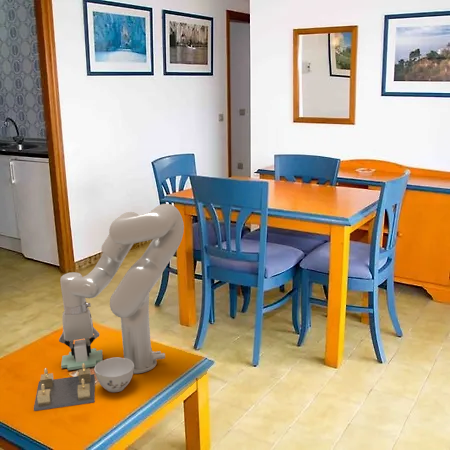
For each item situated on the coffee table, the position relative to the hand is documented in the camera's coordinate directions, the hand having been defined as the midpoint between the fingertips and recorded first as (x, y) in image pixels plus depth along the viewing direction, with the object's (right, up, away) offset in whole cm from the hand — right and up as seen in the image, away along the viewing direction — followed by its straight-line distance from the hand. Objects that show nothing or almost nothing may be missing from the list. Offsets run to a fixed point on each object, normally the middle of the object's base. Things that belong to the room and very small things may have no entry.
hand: (81, 355), depth 200 cm
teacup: (+15, -7, -16) cm, 23 cm away
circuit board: (0, -2, +1) cm, 2 cm away
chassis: (0, -8, -19) cm, 20 cm away
